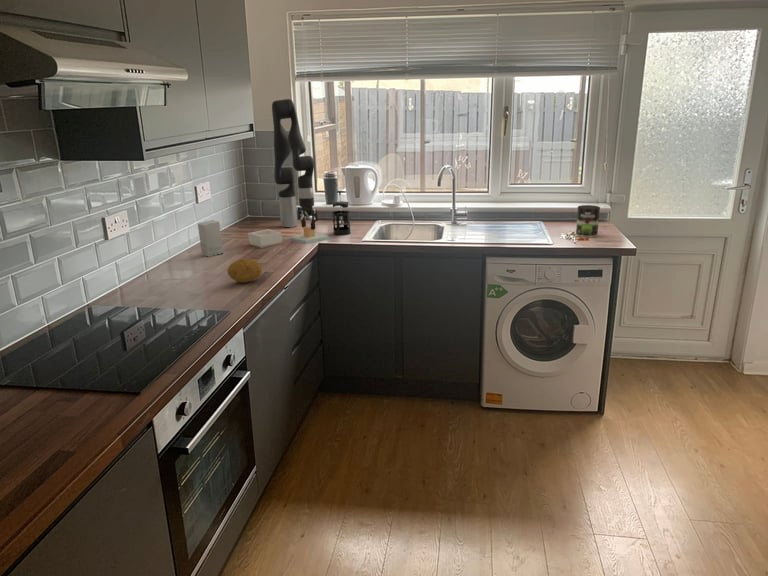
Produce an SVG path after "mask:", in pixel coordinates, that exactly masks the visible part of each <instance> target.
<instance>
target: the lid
mask: <svg viewBox="0 0 768 576" xmlns="http://www.w3.org/2000/svg"><path fill="white" fill-rule="evenodd" d="M302 229H303V233H302V234H298V235H292V236H290V237H289V238H291V239H293V240H296V241H300V242H304V243H309V242H313V241H318V240H323V239H328V238H329V237H330V236H329V235H326V234H322V233H317V232H315V230H311V225H306V226H305V227H303V228H302ZM328 240H329V239H328ZM309 244H310V243H309Z"/></svg>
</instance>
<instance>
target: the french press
mask: <svg viewBox="0 0 768 576" xmlns="http://www.w3.org/2000/svg"><path fill="white" fill-rule="evenodd" d="M335 193H337V194H338V195H339V196H341V195H342V193H344V191H343V190H337V191H335ZM341 200H342V199H341V198H339V201H335V202H332V203H331V205H332V208H335V207H340V209H339V210H336V211H335V210H334V211H332V213H331V214H332V223H333V224H332V225H333V236H338V237H339V236H341V237H342V236H343V237H344V236H348V235H351V234H352V232H351V222H350V219H351V217H350V211H349V210H342V209H343V208H344V209H345V208H346V209H347V208H348V207H349V204H350V202H349V201H341Z"/></svg>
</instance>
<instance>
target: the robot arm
mask: <svg viewBox="0 0 768 576" xmlns="http://www.w3.org/2000/svg"><path fill="white" fill-rule="evenodd" d="M271 110H272V111H271V112H272V123H273V150H274V170H273V171H274V182H275V183H276V184H275V185H279V186H281V185H288V186H287V187H286V188H284V189H282V190H280V191H279V192H278V199H279V201H278V202H279V219H280V226H281V225H282V226H281V228H284V227H290V228H295V226H296V227H298V224H299V223H298V219H299V220H300V221H301V223H300V224H301V228H302V229H303V227H305V226H307V224H306V223H307V222H306V218H307V220H309V221H310V226H311V230H314V231H315V230H316V222H318V220H319V219H318V218H319V217H318V210H317V209H315V208H313V207H314V206H315V195H314V187H313V175H314V169H315V160H314V158H313V156H312V155H303V154H305V153H306V151H307V149H306V145H305V143H304V140H303V135H302V133H301V129H300V124H299V120H298V119H299V118H298V115H297V110H296V106H295V103H294V102H293V100H292V99H291V98H288V99H287V98H286V99H279V100H278V99H277V100H274V101H272V103H271ZM286 119H290V122H291V123H290V124H291V126H290V128H289V132H288V131H287V130H286V129H285V128H284V126H283V124H282V122H281V121H282V120H286ZM291 153H292V154H291ZM290 154H291V155H292V167H288V166H287V167H283V165H284V163H285V161H286V160H287V159H288V157H289V156H290ZM301 155H302V156H301ZM293 168H294V169H293ZM295 171H297V172H305V173H304V174H301V175H299V176H298V177H297V185H298V187H297V189H298V190H297V192H298V193H297V195H298V207H297V201H296V200H297V199H296V188H295V187H296V185H295Z"/></svg>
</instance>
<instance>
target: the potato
mask: <svg viewBox="0 0 768 576" xmlns="http://www.w3.org/2000/svg"><path fill="white" fill-rule="evenodd" d="M227 275H228V276H229V277H230V278H231V279H232V280H233V281H236V282H237V283H238V282H239V283H241V284H245V283H246V284H247V283H252V282H253V281H255V280H257V279H258V278H259V277H261V275H262V265H261V264H260V263H259V262H258V261H257V260H255V259H252V258H241V259H238V260H235V261H234V262H232V263H231V264H230V265H229V266H228V268H227Z"/></svg>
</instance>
